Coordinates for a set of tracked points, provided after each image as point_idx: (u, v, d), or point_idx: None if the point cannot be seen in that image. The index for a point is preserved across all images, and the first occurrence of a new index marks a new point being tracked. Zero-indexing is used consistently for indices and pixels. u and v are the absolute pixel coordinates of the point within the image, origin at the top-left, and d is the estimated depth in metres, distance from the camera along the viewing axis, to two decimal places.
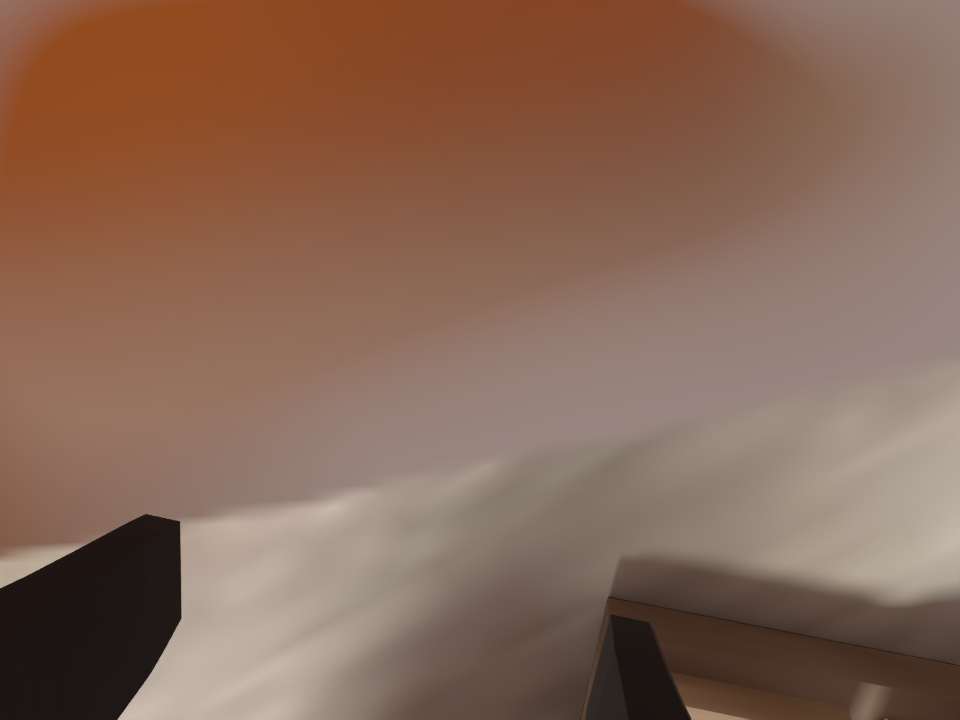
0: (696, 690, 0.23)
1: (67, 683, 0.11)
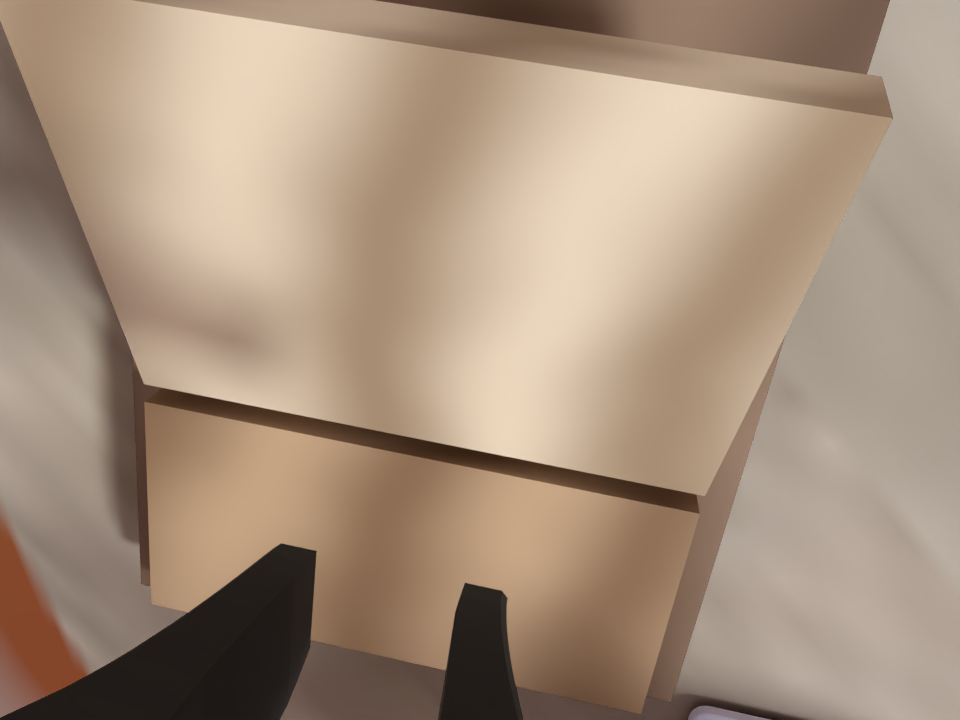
0: None
1: None
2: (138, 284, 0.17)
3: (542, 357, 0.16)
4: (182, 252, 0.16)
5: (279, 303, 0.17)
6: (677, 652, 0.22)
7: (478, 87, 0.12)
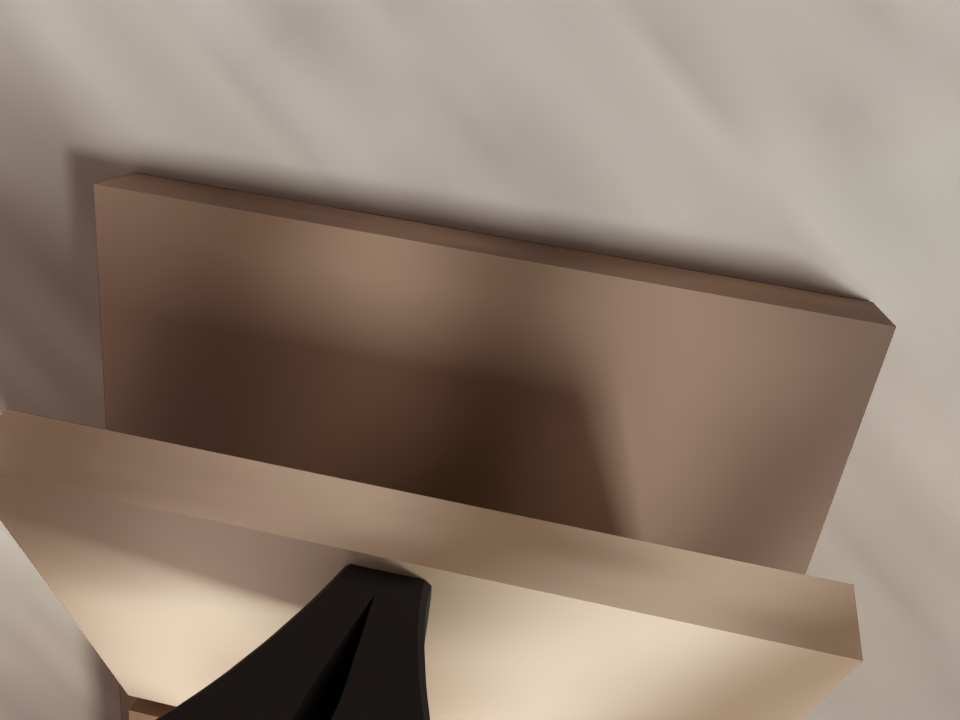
0: None
1: None
2: (120, 643, 0.17)
3: None
4: (163, 633, 0.16)
5: None
6: None
7: (452, 589, 0.12)
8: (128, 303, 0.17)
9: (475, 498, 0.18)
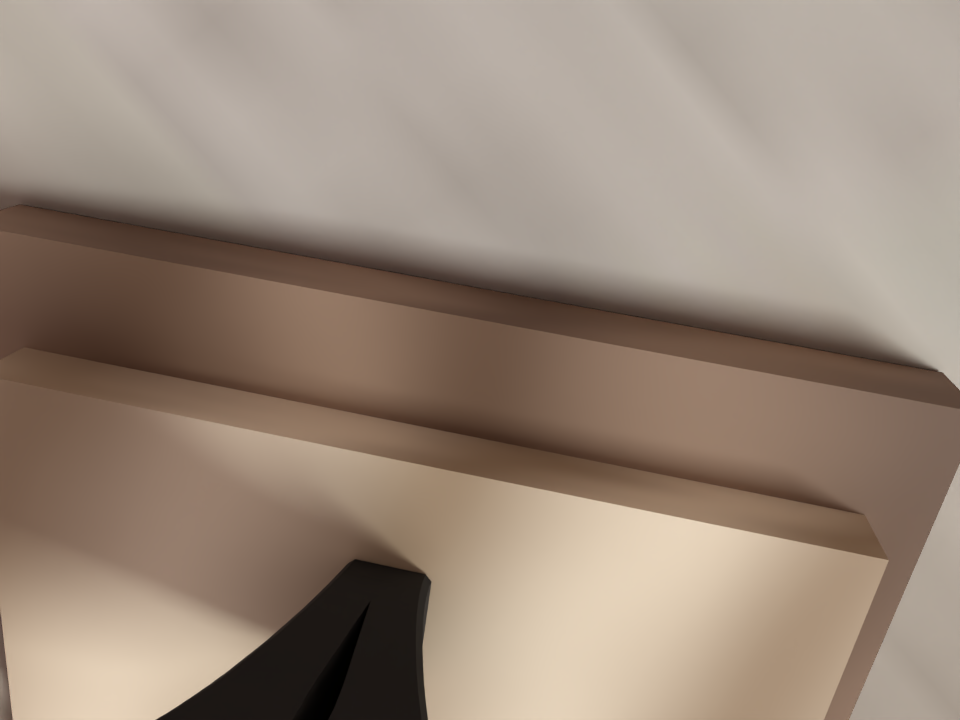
0: None
1: None
2: (51, 693, 0.15)
3: None
4: (112, 659, 0.14)
5: None
6: None
7: (468, 506, 0.12)
8: None
9: None
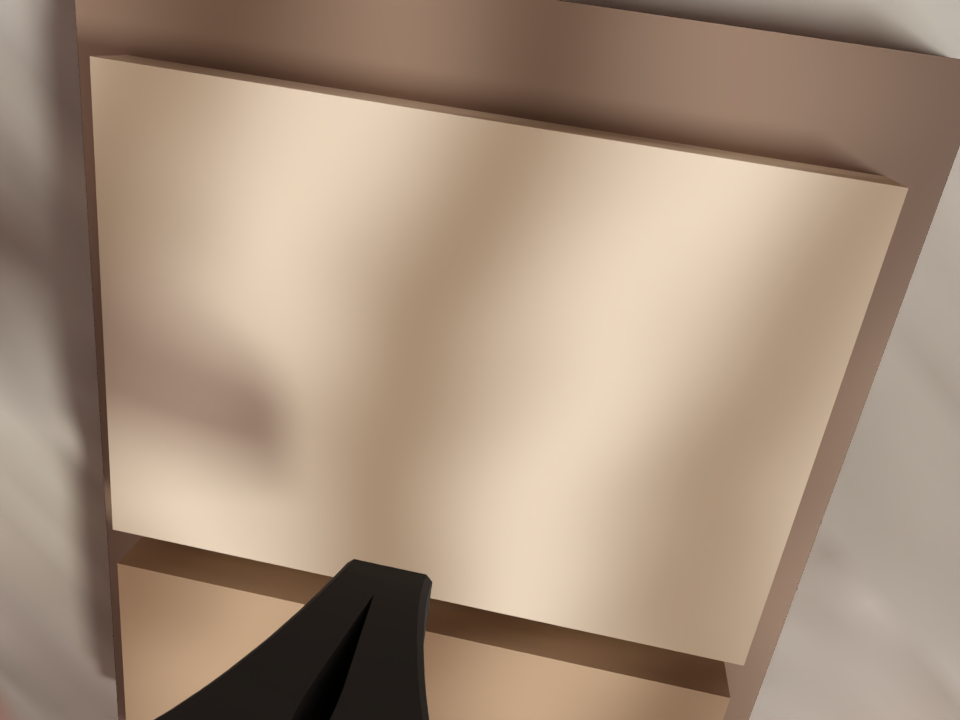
0: None
1: None
2: (144, 392, 0.16)
3: (571, 472, 0.16)
4: (203, 350, 0.16)
5: (295, 411, 0.16)
6: None
7: (534, 161, 0.14)
8: None
9: None
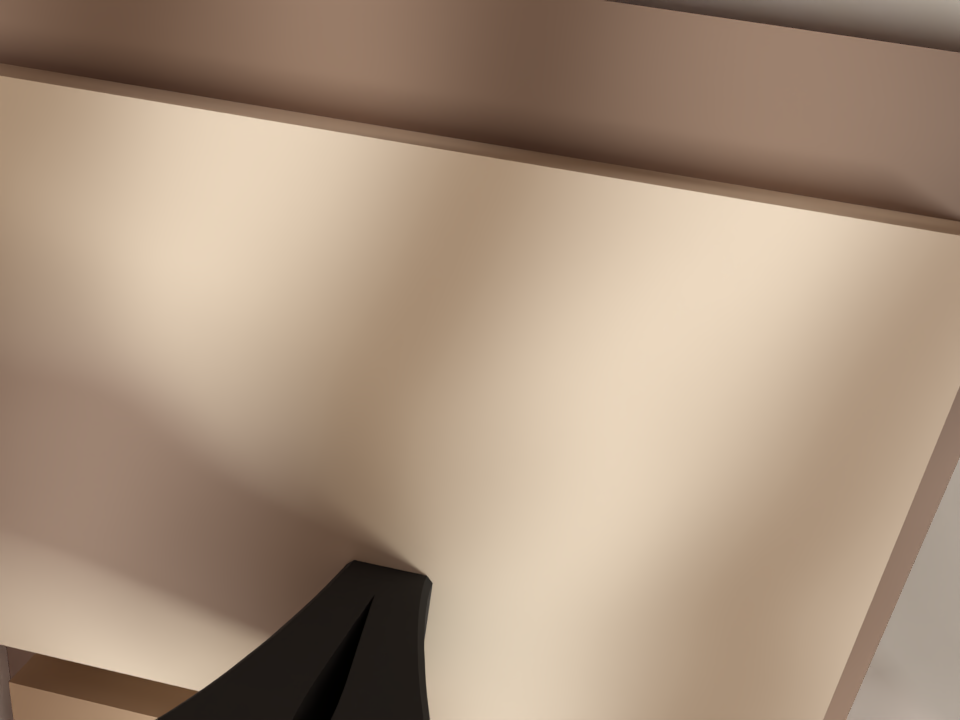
0: None
1: None
2: (27, 484, 0.13)
3: (562, 594, 0.12)
4: (96, 435, 0.13)
5: (214, 512, 0.13)
6: None
7: (512, 204, 0.10)
8: None
9: None
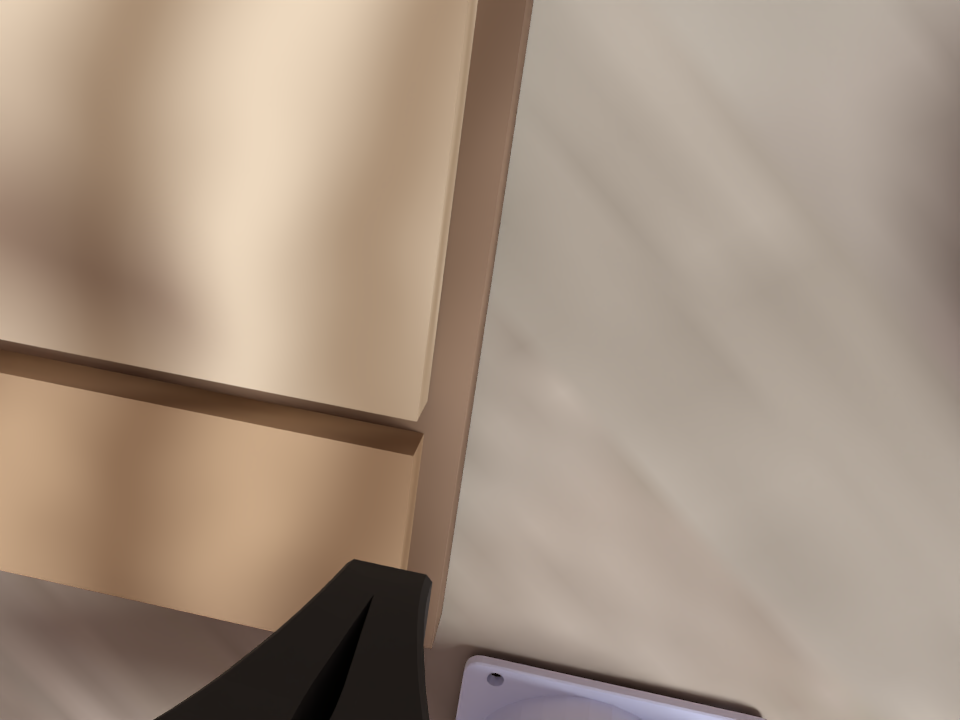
0: None
1: None
2: None
3: (248, 240, 0.18)
4: None
5: (17, 192, 0.19)
6: (430, 598, 0.23)
7: None
8: None
9: None
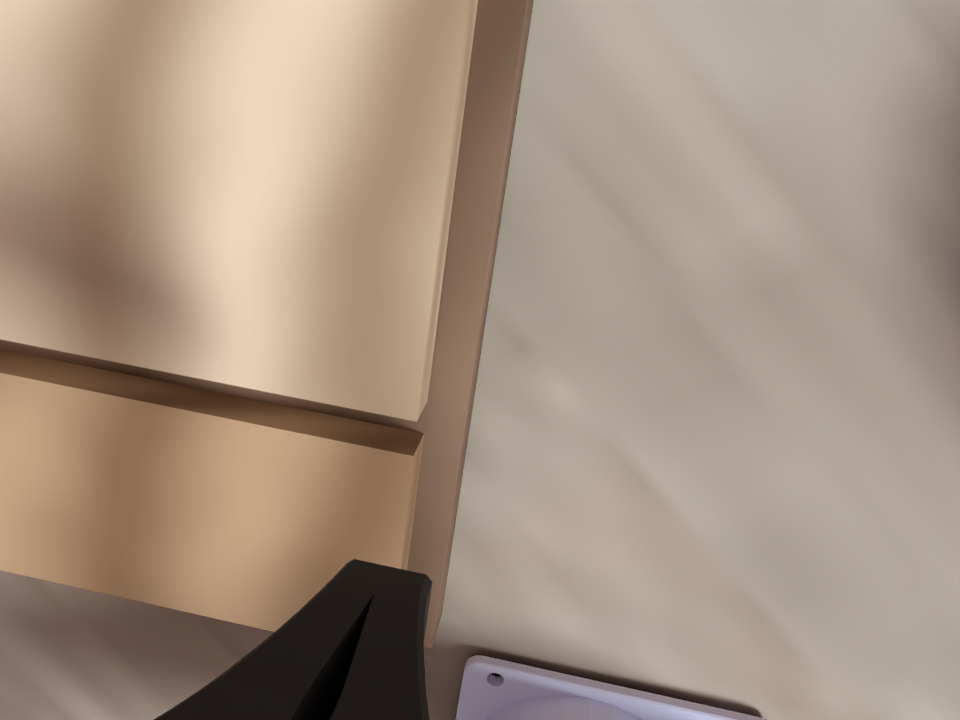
0: None
1: None
2: None
3: (248, 240, 0.18)
4: None
5: (17, 192, 0.19)
6: (430, 598, 0.23)
7: None
8: None
9: None
